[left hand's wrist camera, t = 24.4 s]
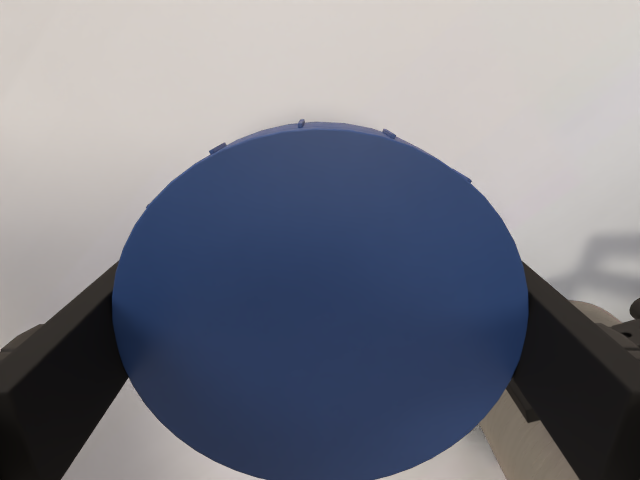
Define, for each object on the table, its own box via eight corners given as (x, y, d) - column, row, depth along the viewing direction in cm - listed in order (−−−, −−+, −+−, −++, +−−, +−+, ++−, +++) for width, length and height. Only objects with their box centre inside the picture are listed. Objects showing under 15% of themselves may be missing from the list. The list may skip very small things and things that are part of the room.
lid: (562, 329, 12) (600, 368, 11) (296, 482, 15) (294, 533, 13) (356, 25, 9) (364, 10, 8) (65, 280, 12) (22, 312, 10)
